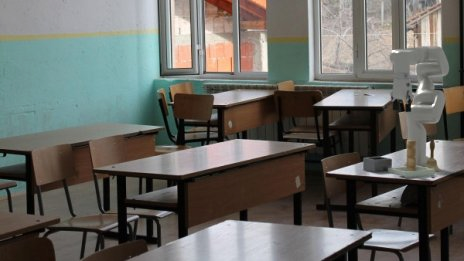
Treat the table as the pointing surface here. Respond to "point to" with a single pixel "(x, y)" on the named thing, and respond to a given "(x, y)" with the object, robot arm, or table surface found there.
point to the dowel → (411, 155)
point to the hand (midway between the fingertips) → (401, 111)
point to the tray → (412, 172)
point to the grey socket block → (377, 164)
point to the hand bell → (432, 158)
